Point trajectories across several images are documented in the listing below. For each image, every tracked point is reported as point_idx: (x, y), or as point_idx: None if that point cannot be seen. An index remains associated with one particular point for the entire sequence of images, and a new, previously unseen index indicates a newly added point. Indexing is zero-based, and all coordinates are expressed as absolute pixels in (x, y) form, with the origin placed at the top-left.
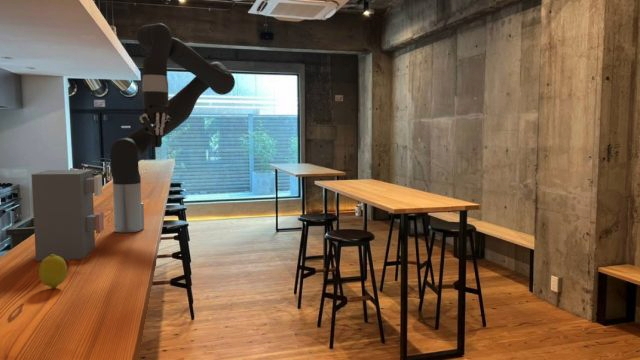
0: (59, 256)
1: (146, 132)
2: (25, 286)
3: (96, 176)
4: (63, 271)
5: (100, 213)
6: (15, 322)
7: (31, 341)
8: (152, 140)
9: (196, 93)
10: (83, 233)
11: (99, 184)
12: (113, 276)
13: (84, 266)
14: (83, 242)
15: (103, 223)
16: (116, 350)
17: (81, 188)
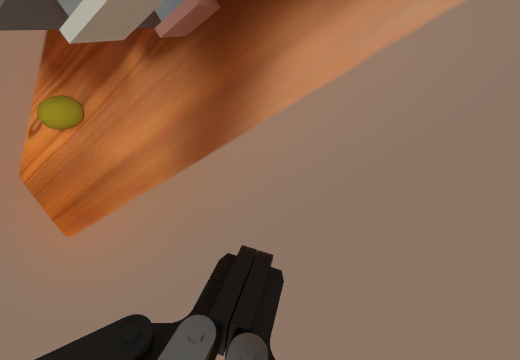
0: None
1: (130, 317)
2: (61, 64)
3: (72, 26)
4: (67, 128)
5: (172, 26)
6: (31, 142)
7: (33, 178)
8: (207, 285)
9: None
10: (146, 23)
11: (111, 26)
12: (142, 144)
13: (147, 69)
14: (156, 25)
15: (212, 7)
16: (64, 231)
17: (47, 23)
